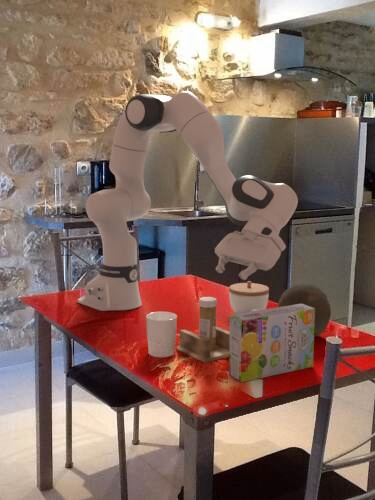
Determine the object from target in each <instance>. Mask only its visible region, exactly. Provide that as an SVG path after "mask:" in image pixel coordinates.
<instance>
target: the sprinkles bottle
mask: <svg viewBox="0 0 375 500" xmlns="http://www.w3.org/2000/svg"><path fill="white" fill-rule="evenodd" d="M217 304H218V300H217V298H216V297H213V296H202V297H200V298H199V299H198V305H199V317H198V321H199V322H198V323H199V324H198V335H199V336H201V337H203V338H205V339H208V340H210V351H211V350H214V349H215V348H216V327H217V316H216V315H217Z"/></svg>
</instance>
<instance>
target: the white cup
mask: <svg viewBox="0 0 375 500" xmlns="http://www.w3.org/2000/svg"><path fill="white" fill-rule="evenodd" d="M145 317H146V318H145V321H146V322H145V323H146V335H147V336H146V340H147V344H148V345H147V346H148V348H147V349H148V355H149V356H151V357H154V358H168V357H173V355H174V354H175V348H176V341H177V340H176V339H177V326H178V325H177V323H178V322H177V321H178V314H176V313H174V312H170V311H153V312H150V313H148V314H146V315H145Z"/></svg>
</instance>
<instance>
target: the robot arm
mask: <svg viewBox="0 0 375 500" xmlns="http://www.w3.org/2000/svg"><path fill="white" fill-rule="evenodd" d="M124 111H125V112H123V113H122V114H121V115H120V117H119V120H118V123H117V125H116V129H115V132H114V135H113V141H112V146H111V150H110V158H109V164H108V168H109V170H110V172H111V173H112V174H113V175H114V178H115V188H109V189H107V188H106V189H102V190H99V191H96V192H94V193H92V194H90V195H89V196H88V198H87V200H86V202H85V211H86V214H87V216H88V219H89V220H91V221H92V222H93V223H94V225H95V226H96V227H97V229H98V232H99V234H100V237H101V242H102V259H103V260H102V261H103V263H101V264H98V265H96V267H97V268H96V269H98V270H99V269H100V270H99V272H98V274H97V275H96V276H95V277H94V278H93V279H91V280H90V281H88V282H87V284H86V285H85V287H84V295H83V296H81V297H79V298H78V299H77V303H78V304H81V305H83V306H86V307H89V308H92V309H95V310H97V311H100V312H108V311H127V310H134V309H137V308H140V307H141V306H142V305H143V303H142V299H141V295H140V289H139V282H138V281H139V280H138V278H139V263H138V261H137V260H138V259H137V258H138V250H137V249H138V248H137V246H138V245H137V244H138V243H137V240H136V238H135V237H134V236H133V235H132V234H131V233H130V232H129V229H128V224H127V222H130V221H136V220H139V219H140V218H142V217H144V216H146V215H148V214H149V212H150V211H151V208H152V207H151V206H152V200H151V197H150V195H149V194H148V192H147V191H146V188H145V183H144V182H145V181H144V170H145V166H146V165H145V164H146V160H147V152H148V148H149V142H150V137H151V136H152V135H153V134H155V133H160V134H161V133H162V134H163V133H164V134H165V133H173V132H175V131H176V132H177V133H178V134H179V136H180V137H181V138H182V140H183V142H185V144H186V146H187V147H188V148H189V149H190V151H191V152H192V153H193V155H194V156H195V158H196V159H197V160H198V162H199V164H200V165H201V166H202V168H203V169H204V171H205V172H206V175H207V176H208V178H209V179H210V180H211V182H212V184H213V186H214V187H215V189H216V190H217V192H218V194H219V196H220V197H221V198H222V201H223V204H224V206H225V207H224V208H225V213H226V216H227V218H228V219H229V220H230V221H231V223H233V225H236V226H239V227H243V228H242V229H241V231H240V230H235V231H232V232H230V233H228V234H226V235H225V236H224V237H223V238H222V240H221V241H220V242H219V243H218V244H217V246H215V247H214V253H215V254H216V256H217V257H218V264H217V266H216V267H215V271H216V272H217V273H218V274H223V273H224V271H225V270H226V268H225V265H226V264H227V263H228V262H231V263H235V264H238V265H242V266H247V268H246V269H244V270H243V269H242V270H241V271H240V272H239V273H238V277H239V279H241V280H243V281H246V280H248V277H249V276H251V275H252V274H255V273H256V271H257V270H263V271H265V272H266V271H267V272H268V271H269V270H271V269H272V268H273V267H274V266H275V265H276V263H277V262H278V260H279V258H280V257H281V255H282V252H283V251H285V249H286V248H287V245H286V244H285V242H284V241H283V239H282V237H280V236H279V235H280V231H281V229H282V228H284V227H285V226H286V225H287V223H288V222H290V219H291V218H292V217H293V215H294V213H295V211H296V209H297V207H298V203H299V201H298V195H297V194H296V192H295V190H294V189H292V187H291V186H289V185H288V184H285V183H283V182H279V183H273V182H269V181H265V180H262V179H260V178H259V177H257V176H255V175H250V174H248V175H247V174H245V175H242V176H240V177H237V178H235V175H234V174H233V173H232V171H231V170H230V168H229V166H228V163H227V161H226V155H225V143H224V140H225V139H224V132H223V130H222V128H221V125H220V123H219V122H218V119H217V118H216V117H215V116H214V114H213V113H212V111H211V110H210V109H209V108H208V107H207V106H206V104H205V103H204V102H203V101H202V100H201V99H200V98H199V97H197V96H196V95H195V94H194V93H193V92H192V91H188V90H184V91H179V92H177V93H176V94H173V96H169V95H165V94H148V93H141V94H140V93H139V94H136V95H134V96H132V97H130V99H129V100H128V101H127V103H126V106H125V110H124Z"/></svg>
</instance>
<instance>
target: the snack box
mask: <svg viewBox="0 0 375 500" xmlns="http://www.w3.org/2000/svg"><path fill="white" fill-rule="evenodd" d="M314 320H315V308H312V307H310V306H307V305H304V304H296V305H290V306H283V307H278V306H277V307H272V308H271V307H270V308H266V309H264V310H258V311H251V312H245V313H239V314H236V313H234V314H233V313H232V314H230V315H229V332H230V339H229V357H228V362H229V364H228V365H229V367H228V369H229V370H228V373H229V374H228V375H229V377H231V378H233V379H235V380H236V381H238V382H240V383H245V382H249V381H250V382H251V381H255V380H258V379H262V378H268V377H271V376H277V375H281V374H286V373H290V372H295V371H299V370H303V369H309V368H313V367H314V351H315V350H314V349H315V347H314V345H315V337H314Z"/></svg>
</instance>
